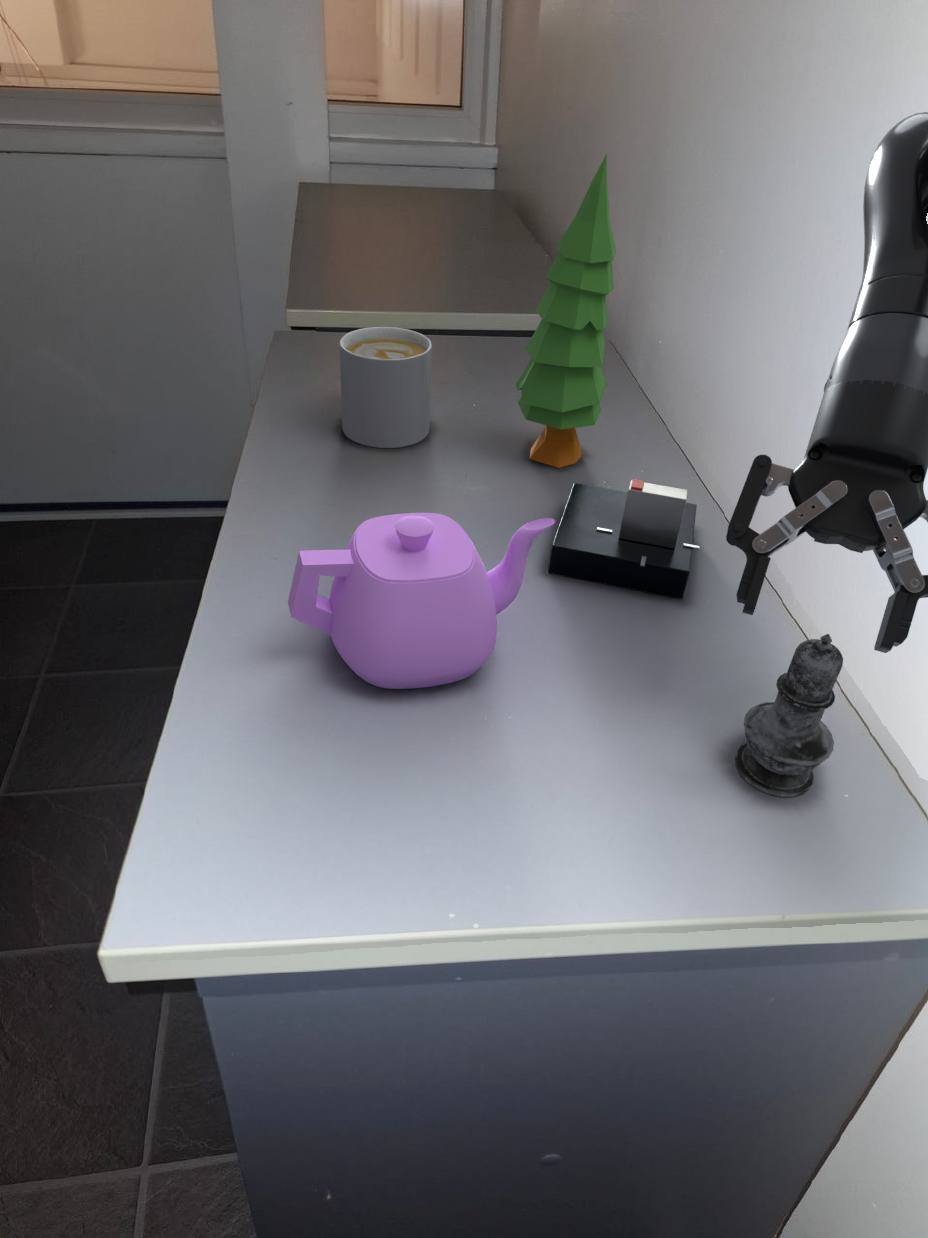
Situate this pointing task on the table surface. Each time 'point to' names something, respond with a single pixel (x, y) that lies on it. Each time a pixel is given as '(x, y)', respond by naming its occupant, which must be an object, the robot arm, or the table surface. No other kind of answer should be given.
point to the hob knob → (653, 513)
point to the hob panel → (618, 546)
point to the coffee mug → (385, 386)
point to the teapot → (410, 598)
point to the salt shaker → (792, 723)
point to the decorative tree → (571, 333)
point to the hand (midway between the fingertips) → (814, 630)
